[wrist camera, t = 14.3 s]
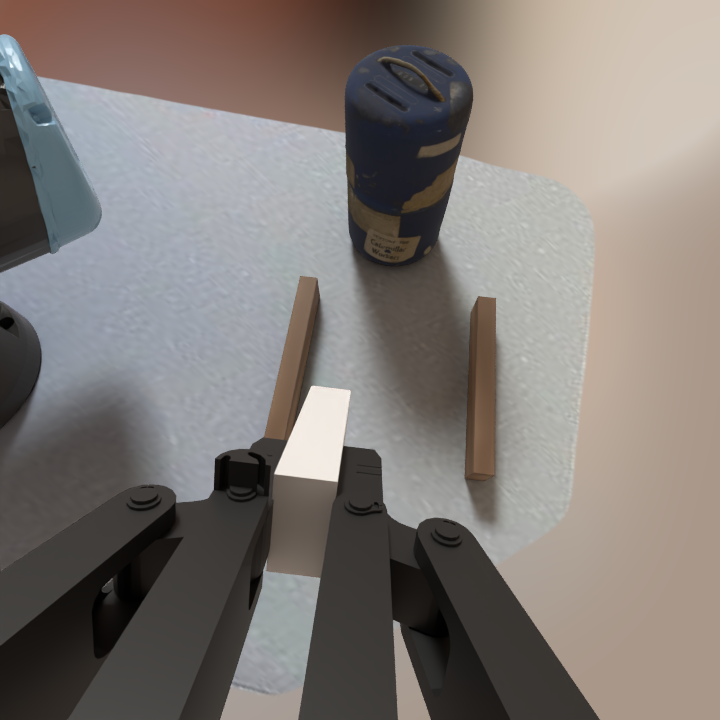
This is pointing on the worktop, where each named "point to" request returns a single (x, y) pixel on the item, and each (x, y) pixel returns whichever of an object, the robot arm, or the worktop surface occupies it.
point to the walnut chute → (479, 377)
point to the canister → (402, 149)
